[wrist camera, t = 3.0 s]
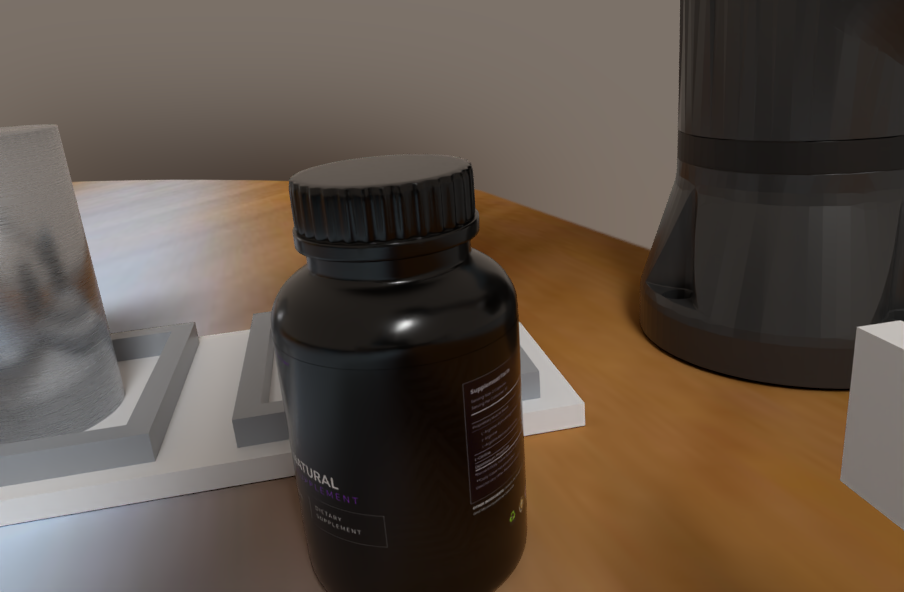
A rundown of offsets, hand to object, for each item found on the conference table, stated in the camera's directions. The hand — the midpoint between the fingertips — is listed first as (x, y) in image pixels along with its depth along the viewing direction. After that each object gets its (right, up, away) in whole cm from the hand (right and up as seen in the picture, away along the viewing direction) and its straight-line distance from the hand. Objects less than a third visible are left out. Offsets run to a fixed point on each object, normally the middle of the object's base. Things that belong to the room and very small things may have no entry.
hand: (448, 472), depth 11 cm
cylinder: (-18, -3, +21) cm, 28 cm away
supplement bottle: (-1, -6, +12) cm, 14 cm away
